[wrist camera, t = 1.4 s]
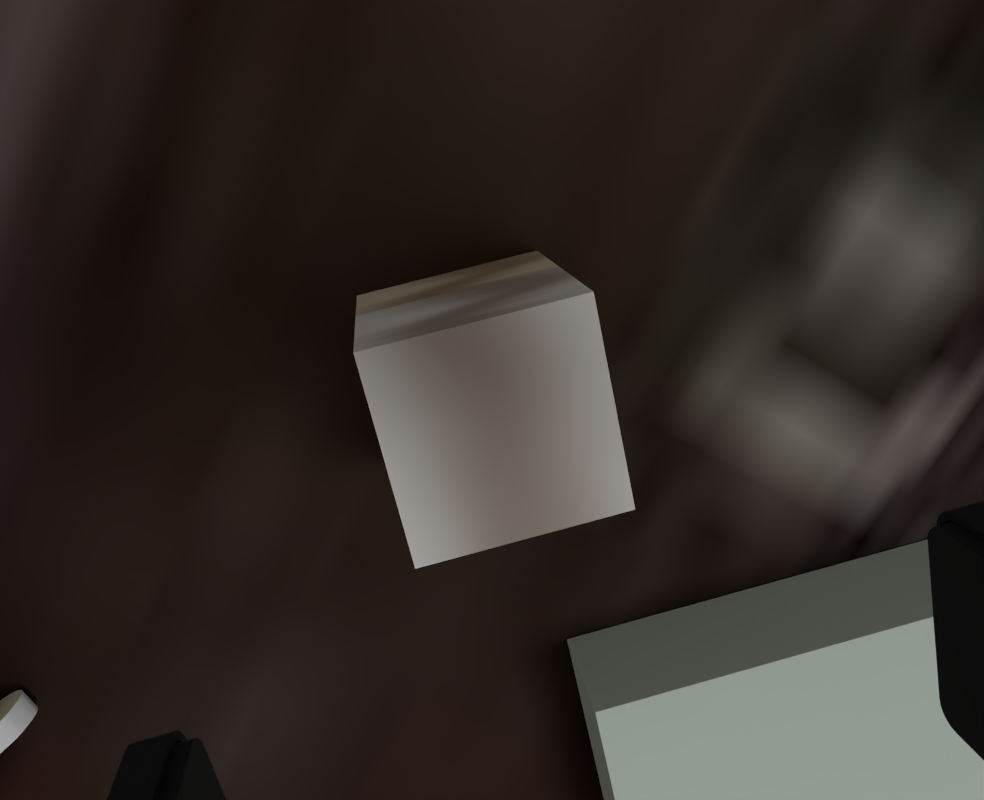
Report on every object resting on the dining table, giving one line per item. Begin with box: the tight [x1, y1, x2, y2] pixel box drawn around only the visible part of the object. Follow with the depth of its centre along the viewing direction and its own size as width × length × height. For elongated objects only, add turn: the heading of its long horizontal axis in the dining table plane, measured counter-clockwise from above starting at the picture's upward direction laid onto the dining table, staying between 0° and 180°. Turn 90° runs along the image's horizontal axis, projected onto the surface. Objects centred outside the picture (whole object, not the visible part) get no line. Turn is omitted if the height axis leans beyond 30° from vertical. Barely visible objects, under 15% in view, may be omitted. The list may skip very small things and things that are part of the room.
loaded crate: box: [353, 251, 635, 569], centre depth 24 cm, size 6×6×7 cm
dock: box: [567, 539, 984, 800], centre depth 31 cm, size 18×15×4 cm
